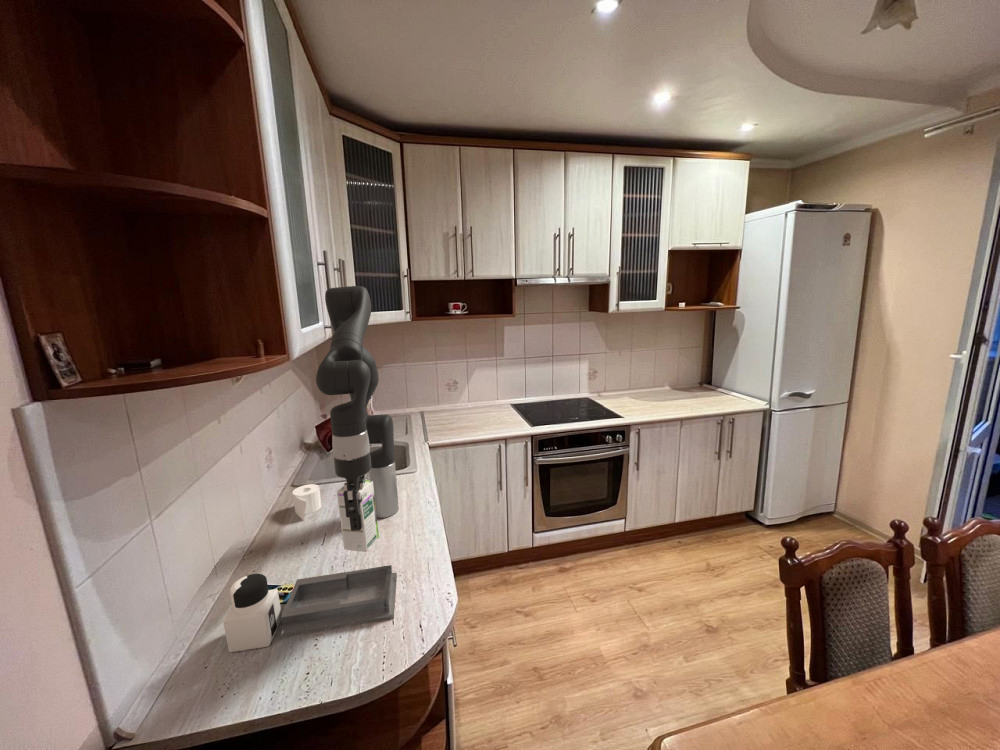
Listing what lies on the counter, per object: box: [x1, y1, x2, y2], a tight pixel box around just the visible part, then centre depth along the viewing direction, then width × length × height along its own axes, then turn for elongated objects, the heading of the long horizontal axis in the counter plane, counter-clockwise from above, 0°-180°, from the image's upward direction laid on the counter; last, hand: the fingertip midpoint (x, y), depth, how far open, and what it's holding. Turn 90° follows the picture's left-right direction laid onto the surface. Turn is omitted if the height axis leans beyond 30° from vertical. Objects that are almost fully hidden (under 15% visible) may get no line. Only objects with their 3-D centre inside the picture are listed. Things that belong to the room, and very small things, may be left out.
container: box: [223, 573, 283, 653], centre depth 84 cm, size 8×8×13 cm
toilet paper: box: [292, 483, 322, 522], centre depth 136 cm, size 8×11×7 cm
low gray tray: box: [280, 565, 398, 639], centre depth 93 cm, size 14×23×4 cm, turn 102°
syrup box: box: [336, 479, 380, 553], centre depth 91 cm, size 6×6×14 cm
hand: (358, 520), depth 91 cm, fingers closed on syrup box, 7 cm apart
